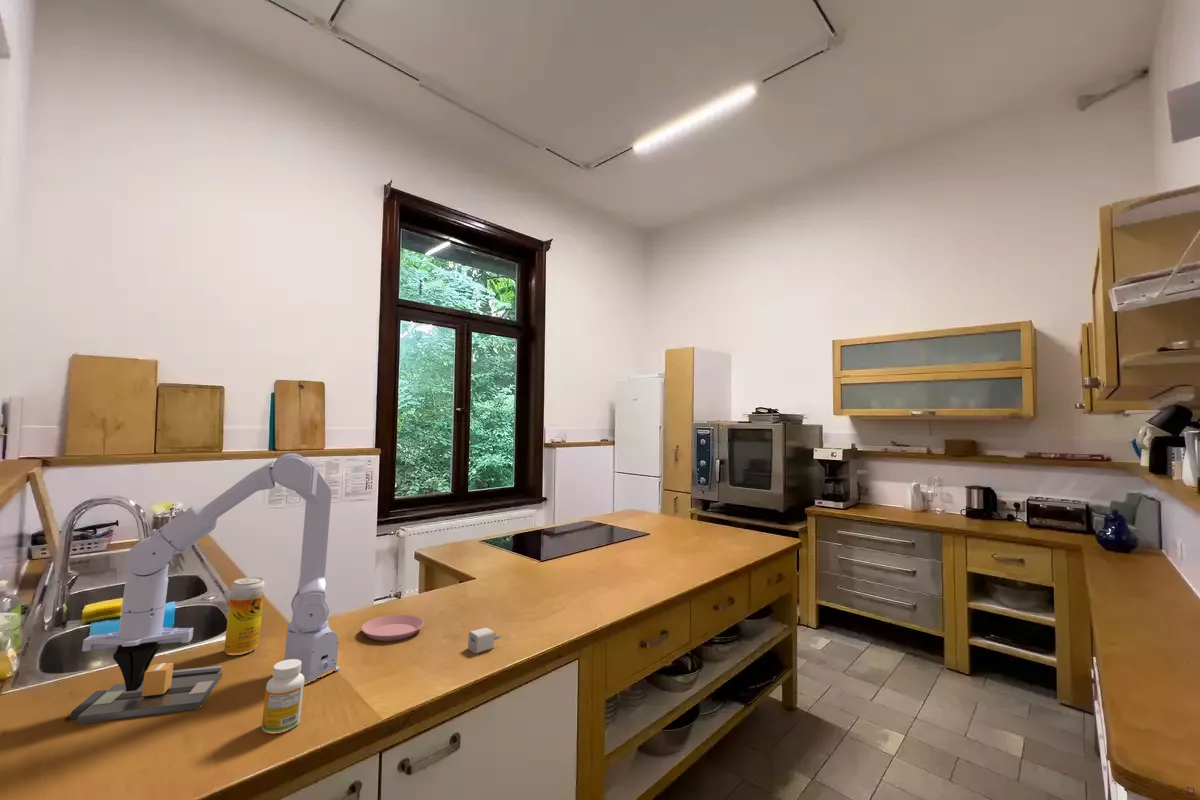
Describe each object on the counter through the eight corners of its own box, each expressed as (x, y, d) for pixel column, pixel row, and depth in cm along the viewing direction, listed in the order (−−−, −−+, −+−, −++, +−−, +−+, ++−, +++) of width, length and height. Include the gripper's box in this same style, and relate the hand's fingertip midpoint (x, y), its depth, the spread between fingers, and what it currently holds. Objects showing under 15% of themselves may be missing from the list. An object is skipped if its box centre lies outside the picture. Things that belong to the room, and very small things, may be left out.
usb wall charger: (467, 648, 114) (468, 630, 115) (493, 641, 119) (494, 624, 120) (476, 654, 111) (478, 636, 112) (502, 646, 116) (503, 629, 117)
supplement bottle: (273, 716, 84) (279, 656, 84) (306, 716, 84) (312, 657, 85) (254, 735, 78) (260, 671, 79) (289, 735, 79) (296, 671, 79)
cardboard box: (171, 685, 89) (173, 662, 89) (163, 693, 86) (166, 669, 86) (150, 688, 88) (153, 664, 88) (141, 696, 85) (144, 671, 85)
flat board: (222, 670, 98) (223, 664, 98) (196, 704, 86) (197, 696, 86) (114, 681, 92) (115, 674, 92) (70, 719, 80) (71, 711, 80)
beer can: (240, 658, 104) (248, 585, 105) (216, 655, 105) (224, 582, 106) (265, 647, 110) (272, 578, 111) (242, 644, 111) (249, 575, 112)
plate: (435, 629, 125) (436, 621, 125) (390, 649, 112) (391, 640, 112) (394, 618, 131) (394, 610, 131) (347, 636, 118) (347, 627, 118)
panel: (221, 679, 95) (222, 672, 95) (199, 709, 85) (200, 701, 85) (113, 691, 89) (114, 683, 89) (76, 724, 79) (77, 715, 79)
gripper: (76, 619, 81) (64, 706, 79) (185, 611, 86) (175, 693, 85) (100, 605, 87) (89, 685, 86) (200, 599, 93) (192, 675, 91)
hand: (133, 688), depth 86 cm, fingers closed
